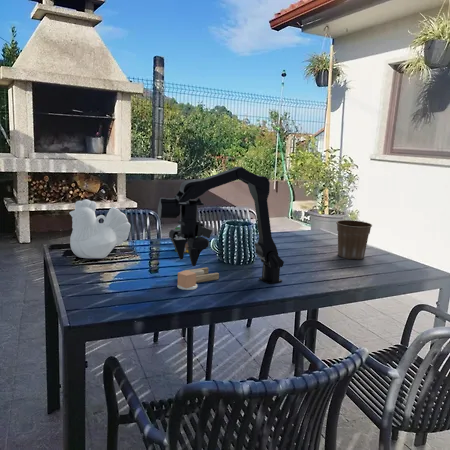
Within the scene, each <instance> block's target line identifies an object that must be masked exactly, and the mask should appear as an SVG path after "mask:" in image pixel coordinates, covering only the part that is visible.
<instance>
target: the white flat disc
mask: <svg viewBox="0 0 450 450" xmlns="http://www.w3.org/2000/svg"><path fill="white" fill-rule="evenodd" d="M176 286H177V288H178V289H179V290H182V291H193V290H196V289H197V288H198V284H197V283H196V286H193V287H189V288H184V287H181V286H179V285H178V284H176Z"/></svg>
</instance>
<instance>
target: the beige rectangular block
mask: <svg viewBox="0 0 450 450" xmlns="http://www.w3.org/2000/svg"><path fill="white" fill-rule="evenodd" d="M193 269H194V270H191V269H185V270H186V271H187V270H188V271H191V272H194V273H196V276H198V275H205V274H204V271H203V270H202V269H198V268H193ZM183 271H184V270H181V271H180V272H183Z"/></svg>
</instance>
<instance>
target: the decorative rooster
mask: <svg viewBox="0 0 450 450" xmlns="http://www.w3.org/2000/svg"><path fill="white" fill-rule="evenodd" d="M97 206H98V205H97V202H96V201H95V200H90V199H86V198H85V199H82V200H76V202H75V203H74V207H75V208H74V210H71V211H69V215H70V216H71V221H72V224H71V225H72V226H71V228H72V231H71V234H70V238H69V240H70V243H69V244H70V245H69V246H70V249H71V251H72V252H73V254H74V255H75V256H76V257H78V258H81V259H82V258H83V259H105V258H106V257H107V256H108V255H109V254H110V253H111V252H112V251H113V250H114V248H115V247H116V246H120V245H122V244H123V243H124V241H126V240H127V239H128V238H129V236H130V232H131V227H132V226H131V223H130V222H129V219H128V218H127V215H126V214H125V213H124V212H122V211H121V210H120V209H119V208H118V207H117V208H116V207H114V206H111V207H110V209H109V210H108V212H107V213H106V215H103V214H100V215H97V216H96V212H95V211H96V209H97V208H98V207H97ZM100 219H102V220H103V222H101V223H100V221H99V220H100Z"/></svg>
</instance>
